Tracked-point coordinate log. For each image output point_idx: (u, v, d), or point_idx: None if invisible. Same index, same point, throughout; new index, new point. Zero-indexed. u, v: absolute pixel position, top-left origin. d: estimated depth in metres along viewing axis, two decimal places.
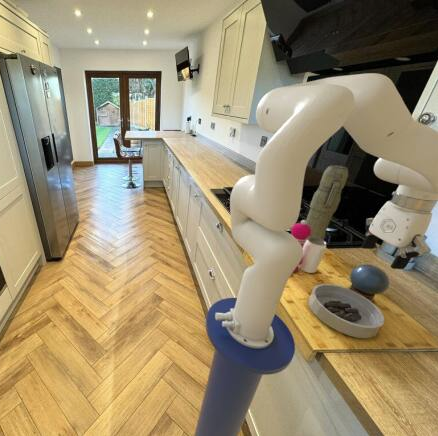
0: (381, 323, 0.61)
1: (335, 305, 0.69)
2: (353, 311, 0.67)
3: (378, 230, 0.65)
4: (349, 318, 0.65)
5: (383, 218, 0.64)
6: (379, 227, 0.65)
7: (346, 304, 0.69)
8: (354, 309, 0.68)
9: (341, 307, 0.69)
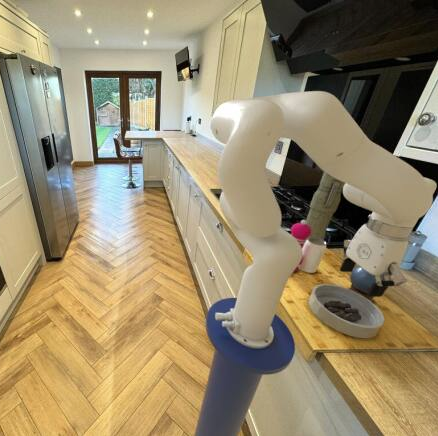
0: (381, 323, 0.61)
1: (335, 305, 0.69)
2: (353, 311, 0.67)
3: (354, 255, 0.62)
4: (349, 318, 0.65)
5: (359, 242, 0.61)
6: (355, 251, 0.62)
7: (346, 304, 0.69)
8: (354, 309, 0.68)
9: (341, 307, 0.69)
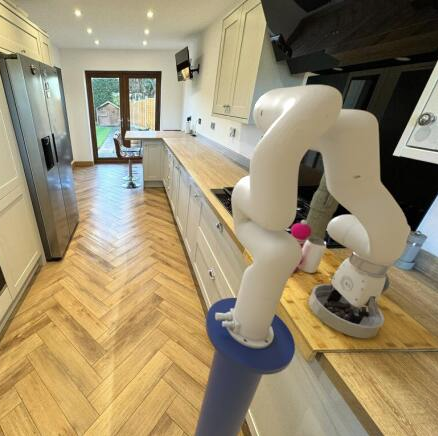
0: (381, 323, 0.61)
1: (335, 305, 0.69)
2: (353, 311, 0.67)
3: (338, 285, 0.66)
4: None
5: (343, 274, 0.65)
6: (339, 282, 0.66)
7: (346, 304, 0.69)
8: None
9: (341, 307, 0.69)
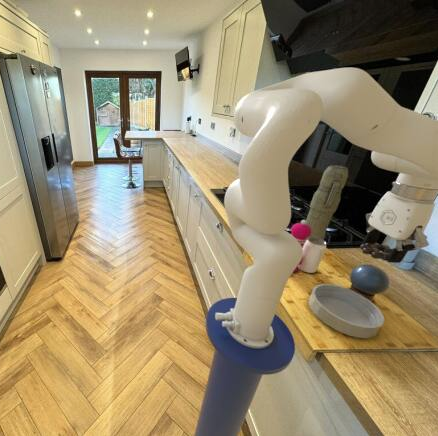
0: (381, 323, 0.61)
1: (373, 246, 0.65)
2: None
3: (378, 222, 0.62)
4: None
5: (383, 209, 0.61)
6: (379, 219, 0.62)
7: (384, 245, 0.65)
8: None
9: (379, 248, 0.65)
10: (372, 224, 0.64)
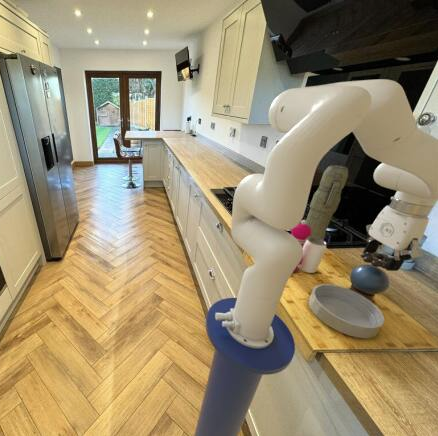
0: (381, 323, 0.61)
1: (372, 255, 0.71)
2: None
3: (377, 233, 0.68)
4: None
5: (382, 222, 0.67)
6: (378, 231, 0.68)
7: (383, 254, 0.71)
8: None
9: (378, 257, 0.71)
10: (372, 235, 0.70)
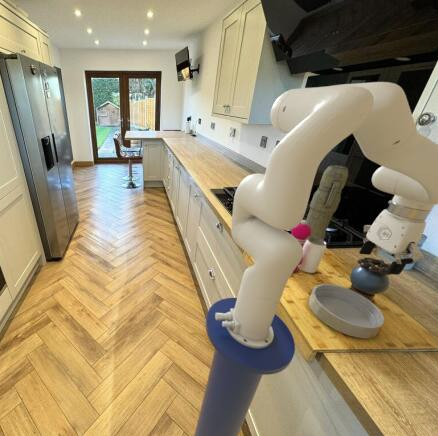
0: (381, 323, 0.61)
1: (369, 261, 0.72)
2: (387, 265, 0.70)
3: (375, 237, 0.68)
4: (385, 270, 0.68)
5: (380, 226, 0.67)
6: (376, 234, 0.68)
7: (380, 260, 0.72)
8: (388, 264, 0.70)
9: (375, 263, 0.72)
10: (370, 238, 0.70)
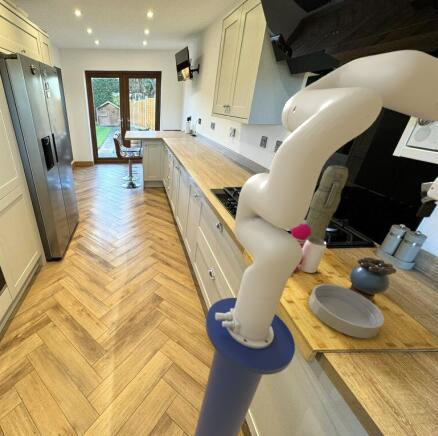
0: (381, 323, 0.61)
1: (369, 261, 0.72)
2: (387, 265, 0.70)
3: None
4: (385, 270, 0.68)
5: None
6: None
7: (380, 260, 0.72)
8: (388, 264, 0.70)
9: (375, 263, 0.72)
10: (433, 196, 0.60)
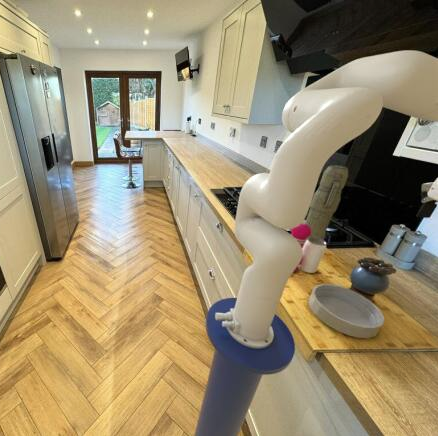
0: (381, 323, 0.61)
1: (369, 261, 0.72)
2: (387, 265, 0.70)
3: None
4: (385, 270, 0.68)
5: None
6: None
7: (380, 260, 0.72)
8: (388, 264, 0.70)
9: (375, 263, 0.72)
10: (433, 196, 0.60)
